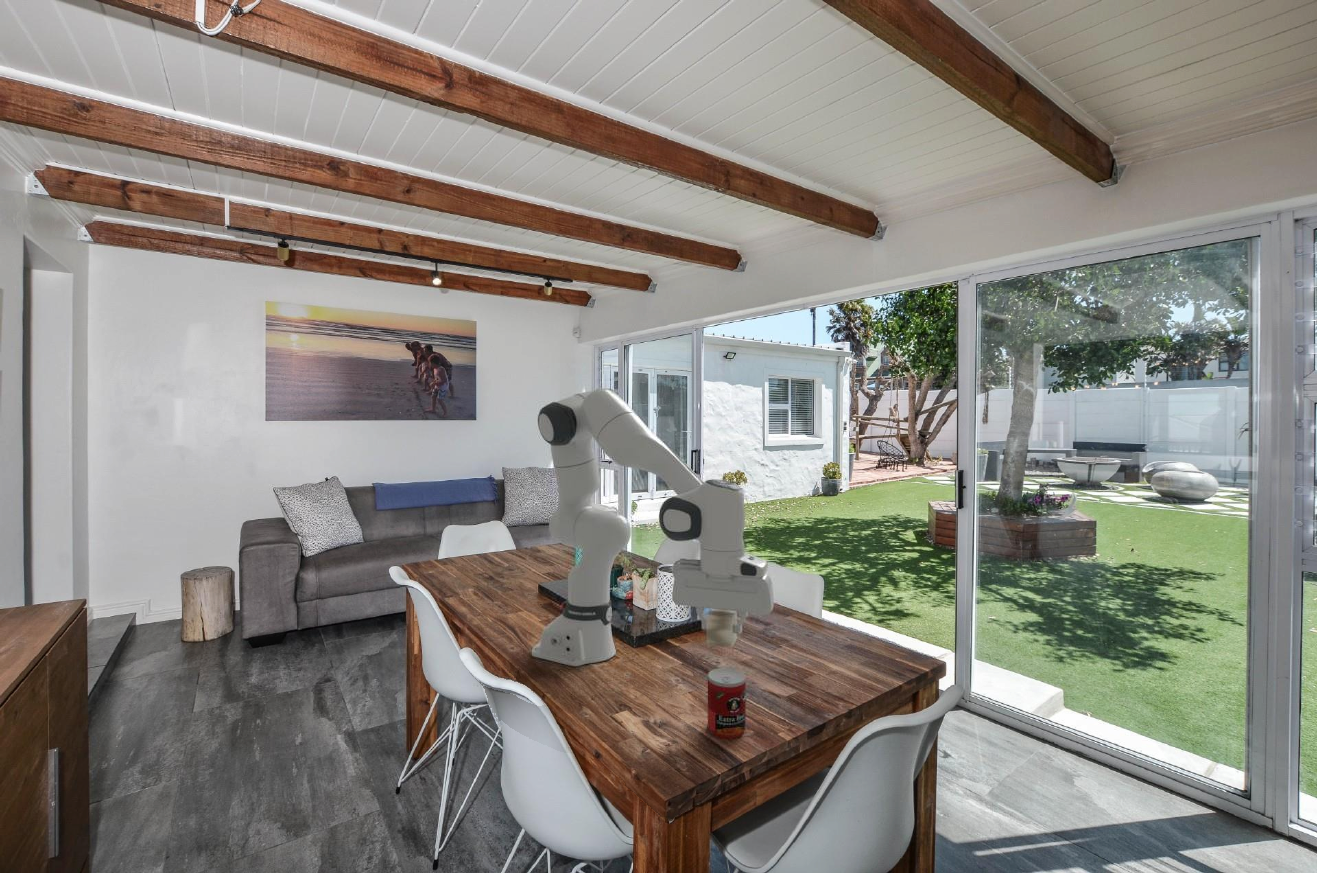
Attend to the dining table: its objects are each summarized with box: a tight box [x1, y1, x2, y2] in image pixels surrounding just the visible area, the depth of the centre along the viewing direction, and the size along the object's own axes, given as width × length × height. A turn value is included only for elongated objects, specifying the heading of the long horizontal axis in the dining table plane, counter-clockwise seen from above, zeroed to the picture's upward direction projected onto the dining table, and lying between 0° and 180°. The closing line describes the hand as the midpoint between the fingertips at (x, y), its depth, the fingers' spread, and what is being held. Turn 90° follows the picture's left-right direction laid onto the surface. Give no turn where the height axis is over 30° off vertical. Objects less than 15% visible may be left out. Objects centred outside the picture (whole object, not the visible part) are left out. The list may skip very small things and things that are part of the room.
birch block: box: [705, 608, 738, 649], centre depth 119 cm, size 5×5×6 cm
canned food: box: [707, 667, 747, 740], centre depth 120 cm, size 8×8×11 cm
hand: (721, 630), depth 119 cm, fingers closed on birch block, 5 cm apart
